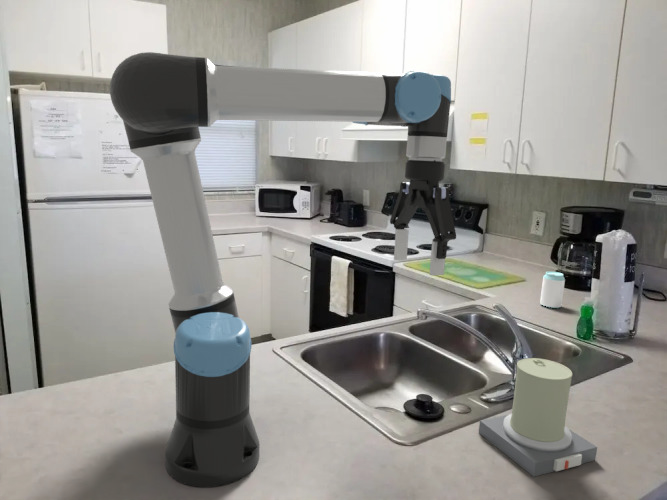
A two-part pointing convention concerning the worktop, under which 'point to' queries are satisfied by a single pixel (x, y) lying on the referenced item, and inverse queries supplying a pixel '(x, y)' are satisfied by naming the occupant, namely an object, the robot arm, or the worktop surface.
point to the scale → (537, 447)
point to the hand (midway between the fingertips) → (417, 266)
